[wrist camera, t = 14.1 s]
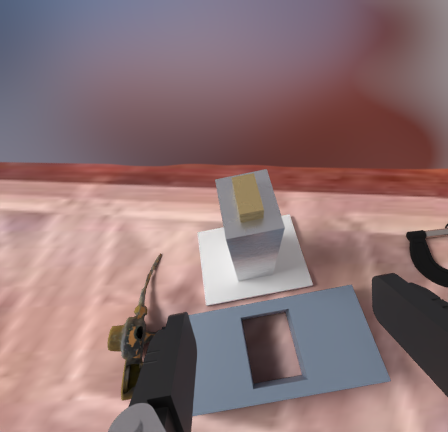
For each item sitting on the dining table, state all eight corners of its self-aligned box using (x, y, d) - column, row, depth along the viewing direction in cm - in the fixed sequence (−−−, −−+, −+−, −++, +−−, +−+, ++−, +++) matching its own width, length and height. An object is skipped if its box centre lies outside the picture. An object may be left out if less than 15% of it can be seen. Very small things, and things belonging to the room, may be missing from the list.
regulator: (136, 256, 32) (93, 397, 23) (135, 242, 29) (84, 398, 20) (192, 265, 33) (172, 403, 24) (196, 252, 30) (175, 404, 21)
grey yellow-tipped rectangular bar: (238, 281, 28) (223, 232, 15) (230, 241, 30) (212, 169, 17) (272, 274, 27) (287, 219, 15) (262, 235, 30) (267, 158, 17)
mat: (207, 306, 27) (206, 305, 27) (198, 234, 31) (197, 232, 31) (311, 286, 27) (312, 285, 26) (288, 216, 31) (289, 214, 31)
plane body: (188, 409, 23) (179, 418, 20) (182, 320, 27) (174, 318, 24) (375, 376, 23) (391, 381, 20) (341, 290, 26) (351, 284, 24)
